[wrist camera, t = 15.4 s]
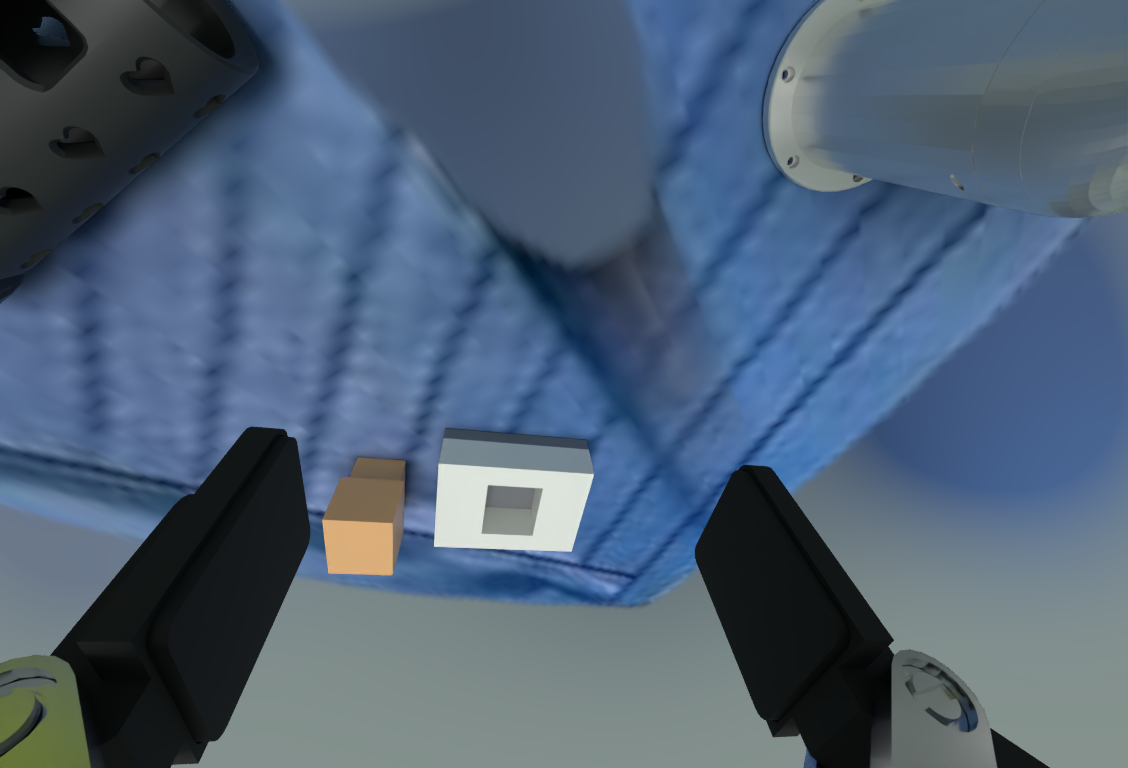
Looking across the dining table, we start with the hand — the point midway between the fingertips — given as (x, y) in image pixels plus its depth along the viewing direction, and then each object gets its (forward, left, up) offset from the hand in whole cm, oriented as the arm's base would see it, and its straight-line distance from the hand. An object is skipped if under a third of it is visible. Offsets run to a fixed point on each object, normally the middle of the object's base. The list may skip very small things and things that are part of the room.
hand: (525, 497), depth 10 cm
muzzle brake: (+28, 0, -29) cm, 40 cm away
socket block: (-3, +26, -28) cm, 39 cm away
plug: (+10, +28, -28) cm, 41 cm away
